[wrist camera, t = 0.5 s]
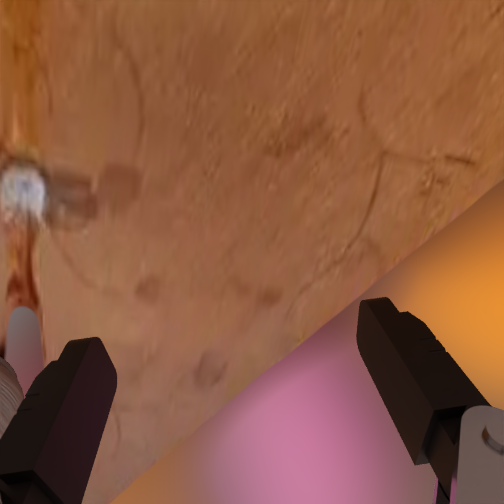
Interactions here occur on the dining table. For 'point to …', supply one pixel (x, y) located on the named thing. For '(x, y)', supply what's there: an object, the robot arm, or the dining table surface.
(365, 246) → the dining table surface
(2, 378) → the vase
